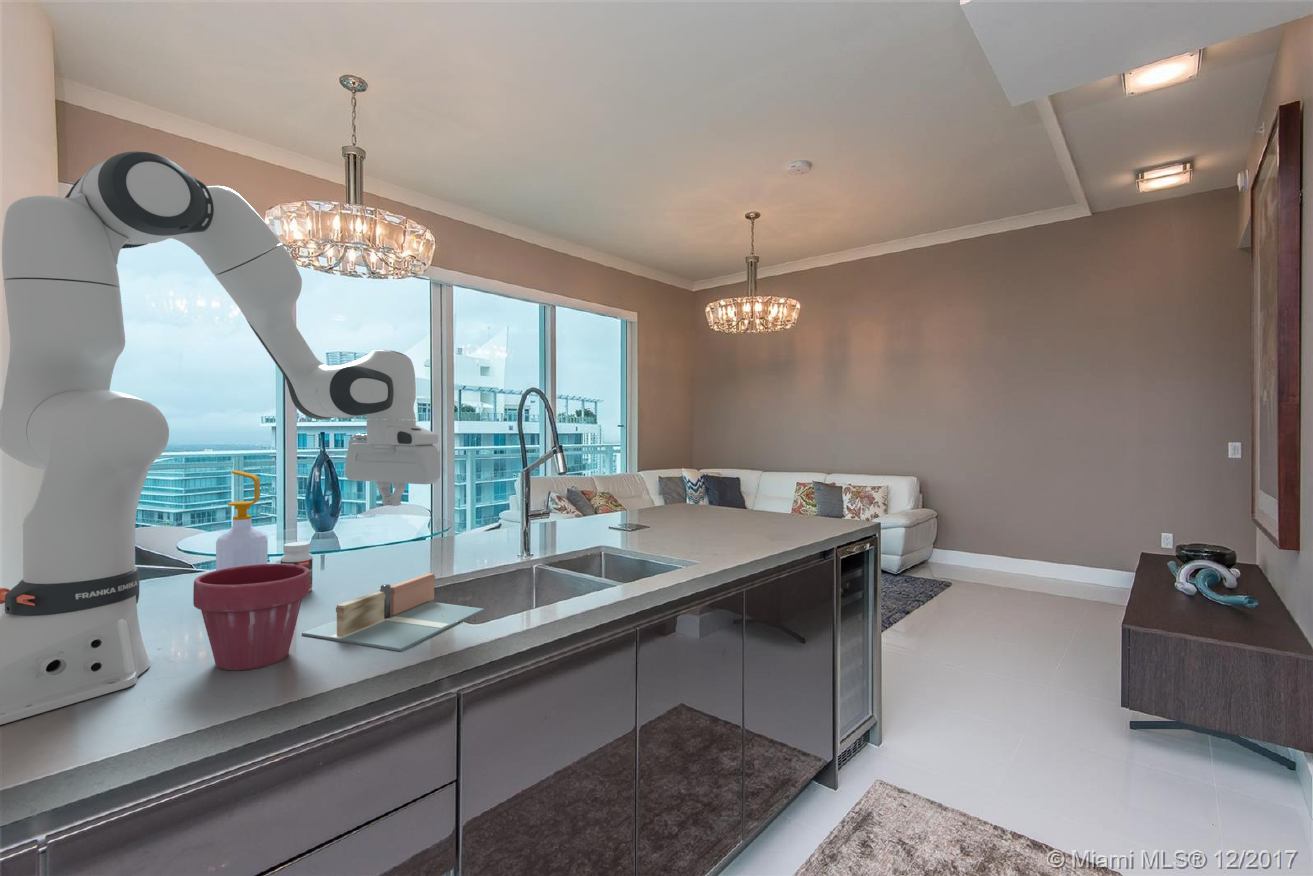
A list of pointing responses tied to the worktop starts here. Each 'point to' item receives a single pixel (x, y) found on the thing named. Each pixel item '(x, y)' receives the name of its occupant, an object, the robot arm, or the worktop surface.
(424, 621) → the board
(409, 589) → the orange hinged panel
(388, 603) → the fence post
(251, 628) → the plant pot
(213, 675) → the worktop surface
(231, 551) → the soap bottle
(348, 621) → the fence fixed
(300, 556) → the pill bottle
